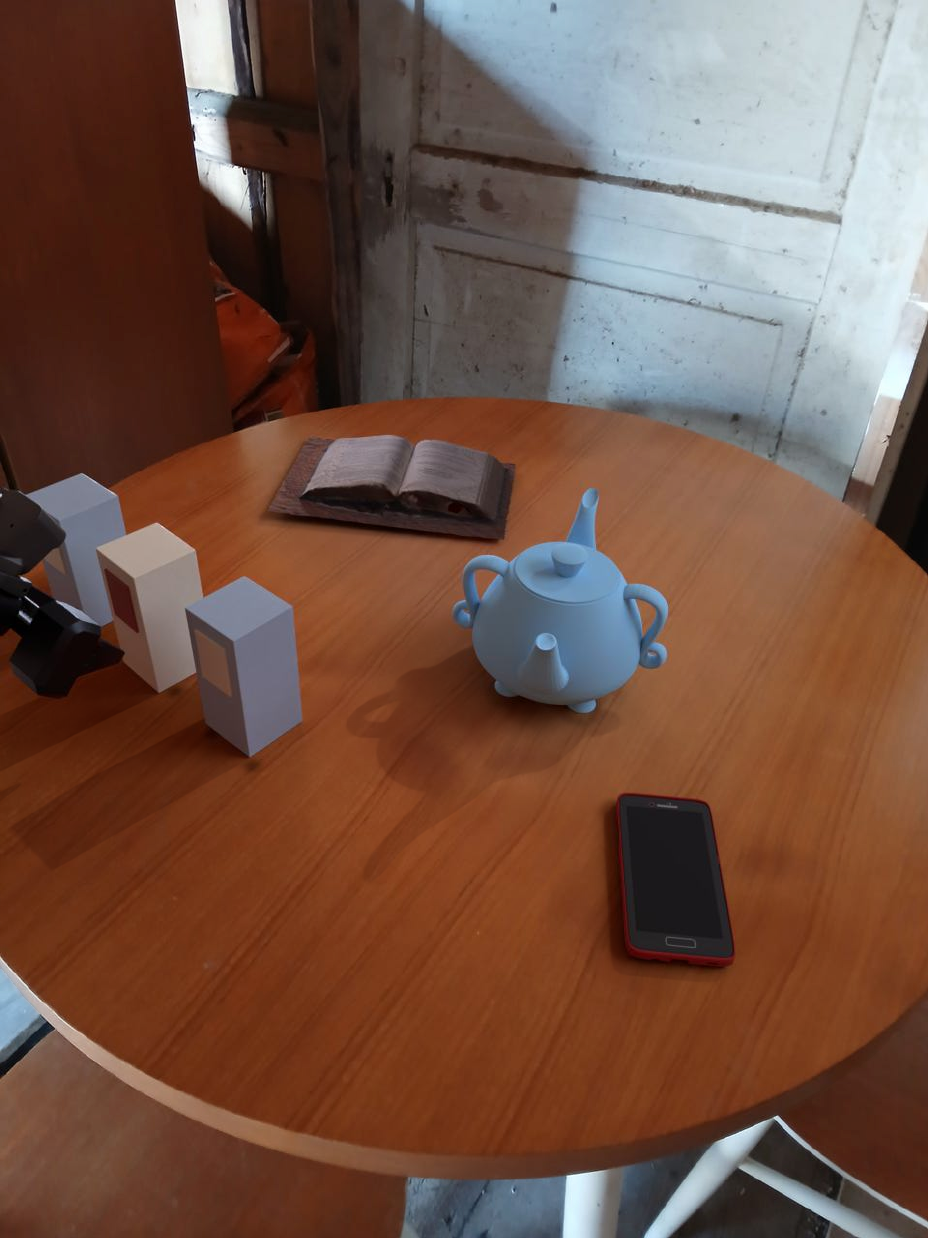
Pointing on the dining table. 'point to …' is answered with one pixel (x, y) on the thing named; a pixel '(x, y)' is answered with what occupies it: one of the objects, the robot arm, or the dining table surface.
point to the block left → (80, 542)
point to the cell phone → (672, 881)
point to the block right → (246, 664)
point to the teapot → (561, 620)
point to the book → (399, 485)
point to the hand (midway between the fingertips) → (89, 632)
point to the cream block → (152, 602)
